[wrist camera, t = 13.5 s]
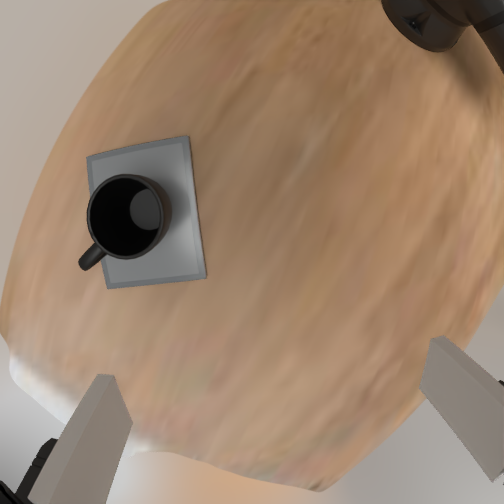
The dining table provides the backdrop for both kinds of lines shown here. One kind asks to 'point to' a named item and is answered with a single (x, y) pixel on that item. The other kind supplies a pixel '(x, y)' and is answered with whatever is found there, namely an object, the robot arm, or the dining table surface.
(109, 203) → the mug
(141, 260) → the slate board
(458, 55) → the dining table surface
